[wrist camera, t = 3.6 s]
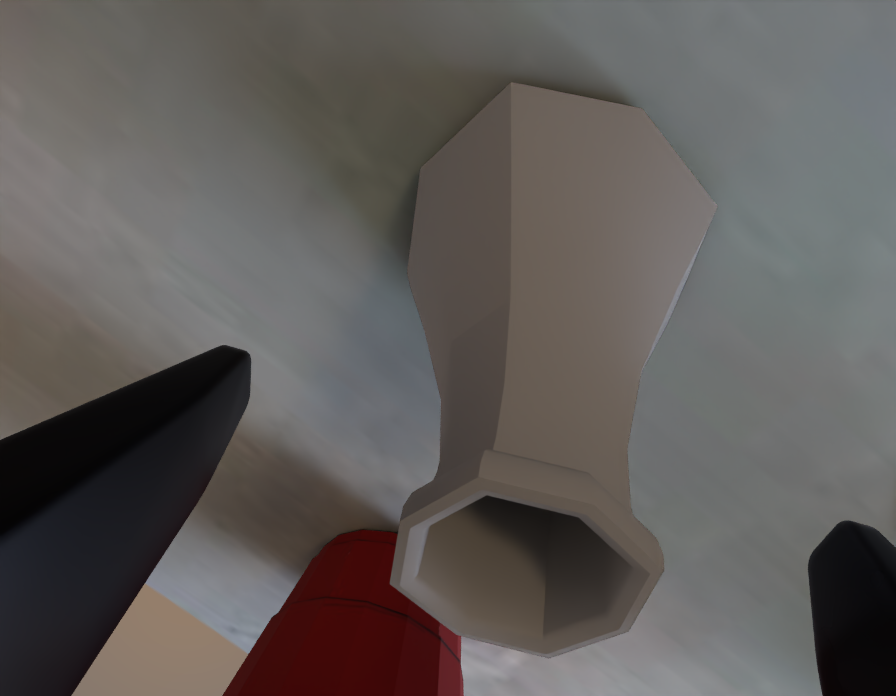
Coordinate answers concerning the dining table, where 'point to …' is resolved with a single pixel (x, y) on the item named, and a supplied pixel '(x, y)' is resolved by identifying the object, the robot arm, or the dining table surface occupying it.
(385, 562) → the plastic cup
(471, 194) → the flask
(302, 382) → the dining table surface
